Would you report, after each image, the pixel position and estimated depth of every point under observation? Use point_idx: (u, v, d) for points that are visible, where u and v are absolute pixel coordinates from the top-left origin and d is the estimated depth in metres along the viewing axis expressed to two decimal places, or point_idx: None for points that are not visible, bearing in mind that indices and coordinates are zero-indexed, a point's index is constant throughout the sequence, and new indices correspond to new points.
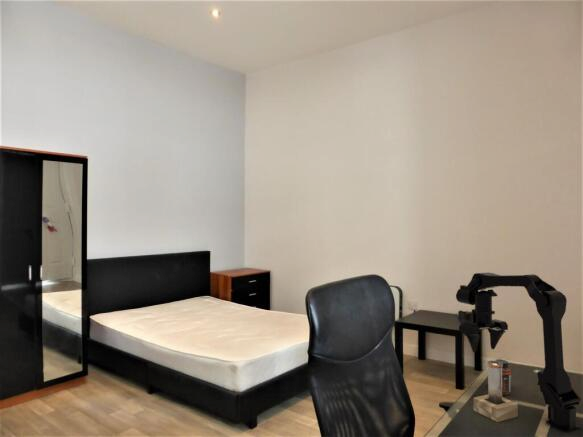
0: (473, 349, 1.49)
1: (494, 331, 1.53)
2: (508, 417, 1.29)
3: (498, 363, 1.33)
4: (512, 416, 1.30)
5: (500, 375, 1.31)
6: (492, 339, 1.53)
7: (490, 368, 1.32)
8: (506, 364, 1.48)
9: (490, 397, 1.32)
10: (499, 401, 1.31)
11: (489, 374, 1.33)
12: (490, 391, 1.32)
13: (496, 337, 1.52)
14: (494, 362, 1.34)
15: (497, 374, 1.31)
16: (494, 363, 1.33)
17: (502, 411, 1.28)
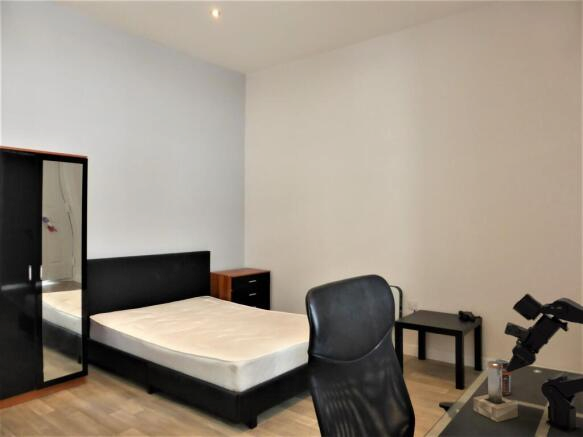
0: (508, 369, 1.29)
1: None
2: (508, 417, 1.29)
3: (498, 363, 1.33)
4: (512, 416, 1.30)
5: (500, 375, 1.31)
6: None
7: (489, 368, 1.32)
8: (506, 364, 1.48)
9: (490, 397, 1.32)
10: (499, 401, 1.31)
11: (489, 374, 1.33)
12: (490, 391, 1.32)
13: None
14: (494, 362, 1.34)
15: (497, 374, 1.31)
16: (494, 363, 1.33)
17: (502, 411, 1.28)
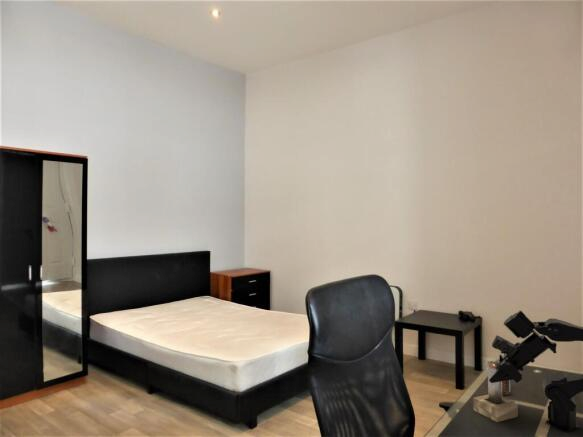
0: (491, 379, 1.31)
1: None
2: (508, 417, 1.29)
3: (498, 363, 1.33)
4: (512, 416, 1.30)
5: None
6: None
7: (489, 369, 1.32)
8: None
9: (490, 397, 1.32)
10: (499, 401, 1.31)
11: (489, 374, 1.33)
12: (490, 391, 1.32)
13: None
14: (494, 362, 1.34)
15: None
16: (494, 363, 1.33)
17: (502, 411, 1.28)
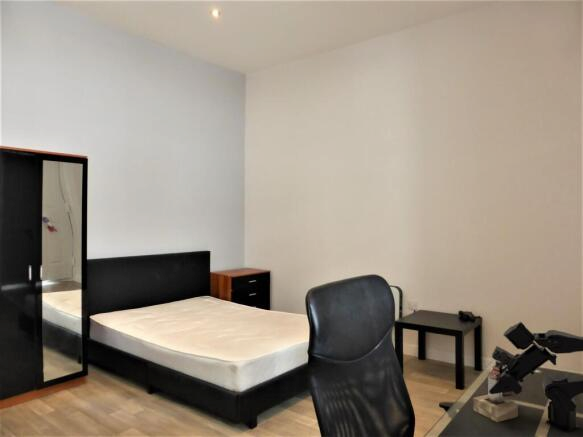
0: (491, 391, 1.31)
1: None
2: (508, 417, 1.29)
3: (498, 374, 1.33)
4: (512, 416, 1.30)
5: None
6: None
7: (490, 379, 1.32)
8: None
9: None
10: None
11: (489, 385, 1.33)
12: None
13: None
14: (494, 373, 1.34)
15: None
16: (494, 374, 1.33)
17: (502, 411, 1.28)
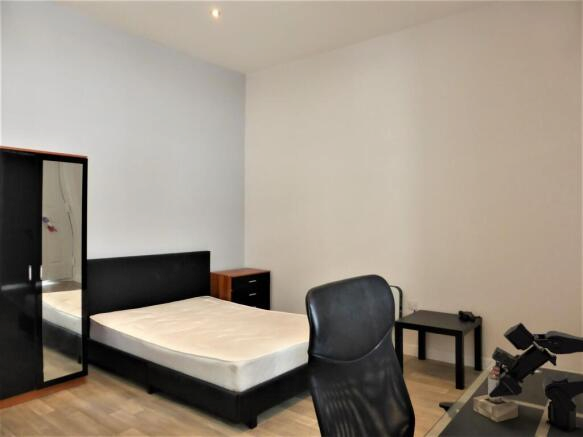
0: (491, 394, 1.29)
1: None
2: (508, 417, 1.29)
3: (498, 374, 1.33)
4: (512, 416, 1.30)
5: None
6: None
7: (490, 380, 1.32)
8: None
9: None
10: None
11: (489, 385, 1.33)
12: None
13: None
14: (494, 373, 1.34)
15: None
16: (494, 374, 1.33)
17: (502, 411, 1.28)
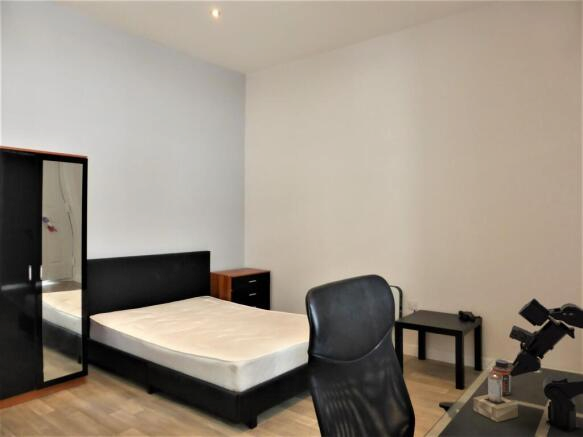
0: (512, 373, 1.28)
1: None
2: (508, 417, 1.29)
3: (498, 374, 1.33)
4: (512, 416, 1.30)
5: (500, 387, 1.31)
6: None
7: (490, 380, 1.32)
8: (506, 364, 1.48)
9: None
10: None
11: (489, 385, 1.33)
12: None
13: None
14: (494, 373, 1.34)
15: (497, 385, 1.31)
16: (494, 374, 1.33)
17: (502, 411, 1.28)
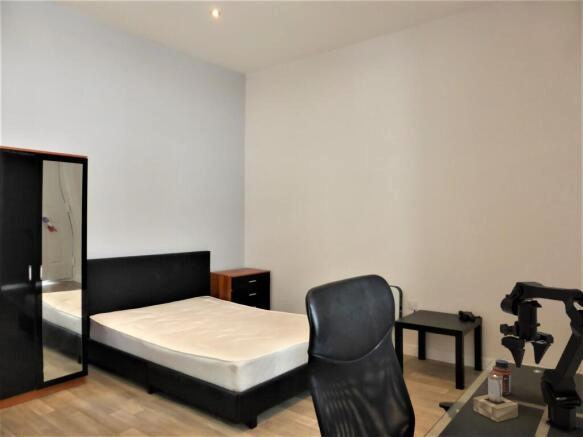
0: (516, 364, 1.38)
1: (539, 345, 1.41)
2: (508, 417, 1.29)
3: (498, 374, 1.33)
4: (512, 416, 1.30)
5: (500, 387, 1.31)
6: (536, 353, 1.42)
7: (490, 380, 1.32)
8: (506, 364, 1.48)
9: None
10: None
11: (489, 385, 1.33)
12: None
13: (541, 351, 1.40)
14: (494, 373, 1.34)
15: (497, 385, 1.31)
16: (494, 374, 1.33)
17: (502, 411, 1.28)
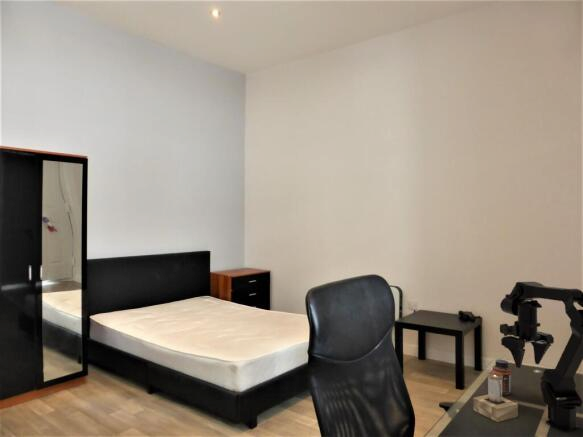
0: (516, 364, 1.38)
1: (539, 345, 1.41)
2: (508, 417, 1.29)
3: (498, 374, 1.33)
4: (512, 416, 1.30)
5: (500, 387, 1.31)
6: (536, 353, 1.42)
7: (490, 380, 1.32)
8: (506, 364, 1.48)
9: None
10: None
11: (489, 385, 1.33)
12: None
13: (541, 351, 1.40)
14: (494, 373, 1.34)
15: (497, 385, 1.31)
16: (494, 374, 1.33)
17: (502, 411, 1.28)
